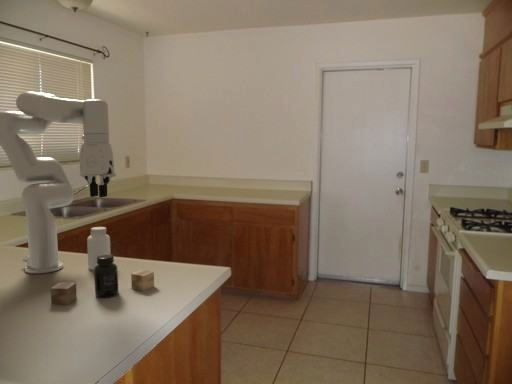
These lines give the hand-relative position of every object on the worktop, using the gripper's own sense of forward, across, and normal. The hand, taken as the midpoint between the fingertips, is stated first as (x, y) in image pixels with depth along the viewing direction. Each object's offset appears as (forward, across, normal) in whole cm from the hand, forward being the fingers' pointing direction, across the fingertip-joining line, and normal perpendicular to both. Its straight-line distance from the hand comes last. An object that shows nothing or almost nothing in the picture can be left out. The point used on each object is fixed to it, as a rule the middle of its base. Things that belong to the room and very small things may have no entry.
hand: (98, 196), depth 135 cm
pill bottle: (+29, -12, +14) cm, 35 cm away
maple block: (+29, +15, +1) cm, 33 cm away
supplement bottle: (+29, +8, -8) cm, 31 cm away
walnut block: (+29, 0, -17) cm, 34 cm away
